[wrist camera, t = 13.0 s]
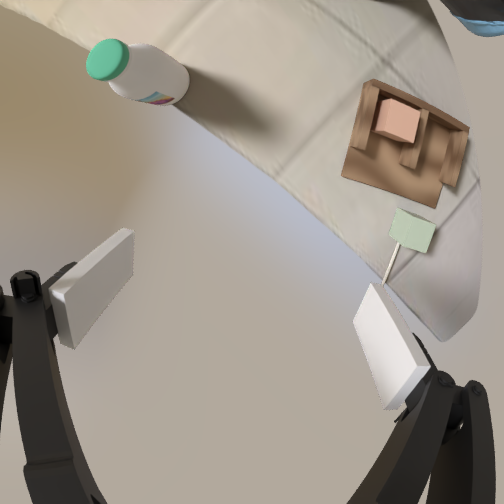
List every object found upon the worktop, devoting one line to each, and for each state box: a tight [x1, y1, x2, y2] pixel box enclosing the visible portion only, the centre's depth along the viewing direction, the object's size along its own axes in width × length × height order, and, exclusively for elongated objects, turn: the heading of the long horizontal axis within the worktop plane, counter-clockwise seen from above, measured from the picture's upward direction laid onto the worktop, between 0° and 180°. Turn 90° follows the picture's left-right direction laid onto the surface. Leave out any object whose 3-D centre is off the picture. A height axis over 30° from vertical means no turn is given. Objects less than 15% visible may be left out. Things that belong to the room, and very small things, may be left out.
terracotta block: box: [370, 99, 420, 143], centre depth 36 cm, size 5×5×6 cm
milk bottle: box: [86, 39, 190, 106], centre depth 29 cm, size 8×8×20 cm
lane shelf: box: [341, 79, 470, 208], centre depth 38 cm, size 16×19×5 cm
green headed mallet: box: [381, 208, 436, 286], centre depth 43 cm, size 20×5×11 cm, turn 167°
